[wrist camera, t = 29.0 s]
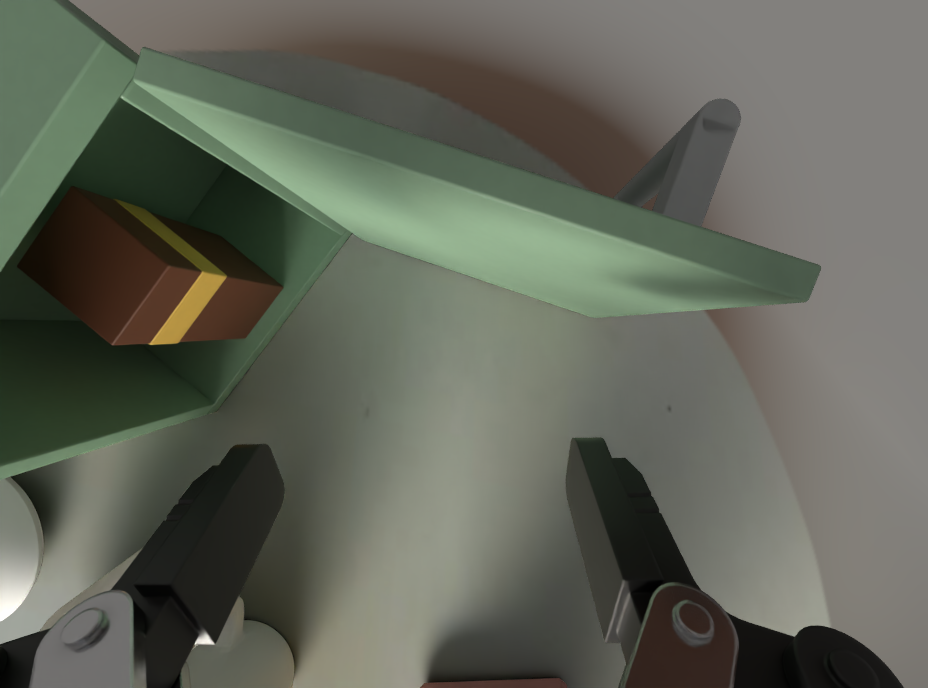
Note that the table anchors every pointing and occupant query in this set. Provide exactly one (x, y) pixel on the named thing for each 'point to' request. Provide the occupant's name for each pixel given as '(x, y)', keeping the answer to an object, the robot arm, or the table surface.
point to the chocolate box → (145, 274)
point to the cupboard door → (499, 202)
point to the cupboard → (138, 183)
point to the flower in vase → (17, 546)
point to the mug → (242, 656)
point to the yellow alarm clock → (501, 684)
